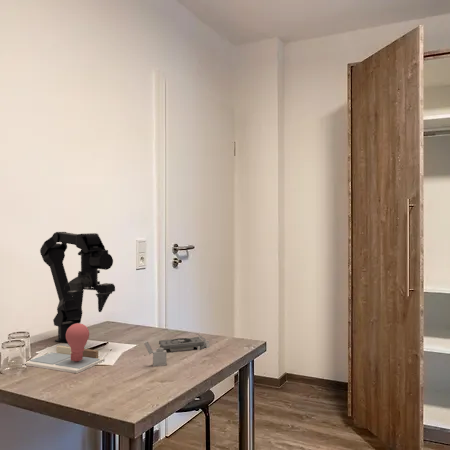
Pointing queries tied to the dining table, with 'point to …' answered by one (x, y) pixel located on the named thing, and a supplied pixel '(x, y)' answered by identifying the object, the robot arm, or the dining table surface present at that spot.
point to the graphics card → (185, 343)
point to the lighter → (156, 355)
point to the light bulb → (77, 340)
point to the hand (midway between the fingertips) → (89, 311)
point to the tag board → (66, 360)
